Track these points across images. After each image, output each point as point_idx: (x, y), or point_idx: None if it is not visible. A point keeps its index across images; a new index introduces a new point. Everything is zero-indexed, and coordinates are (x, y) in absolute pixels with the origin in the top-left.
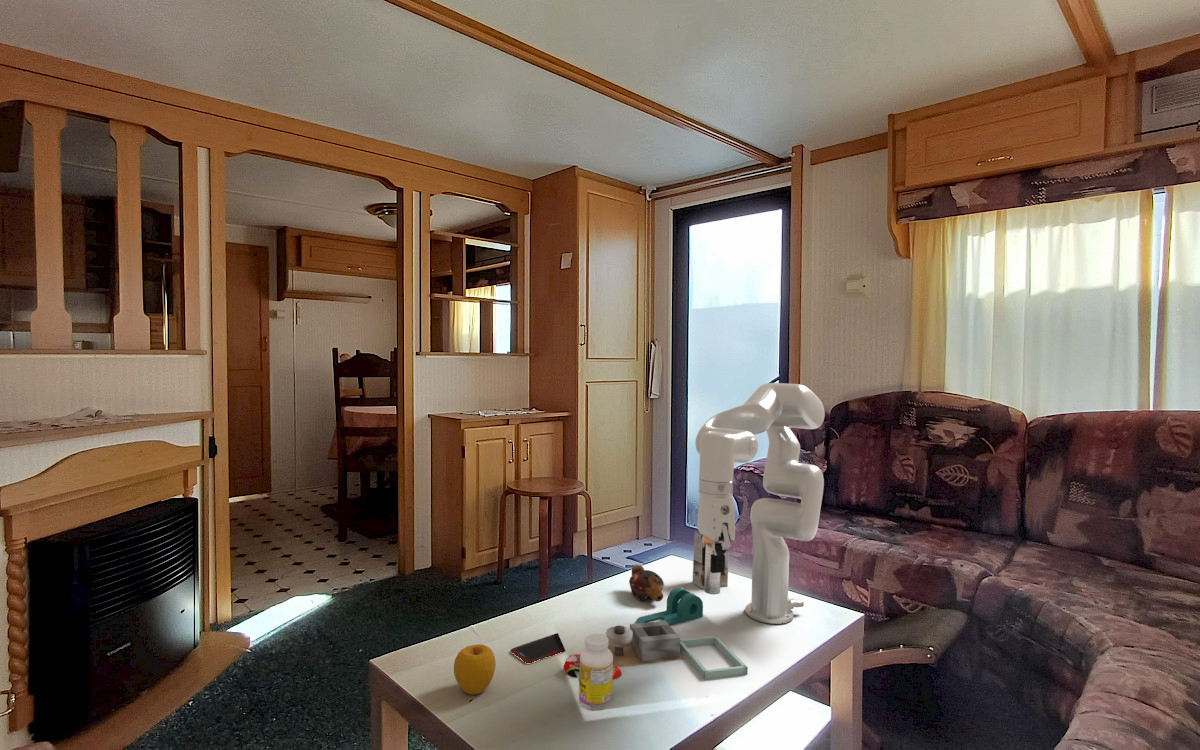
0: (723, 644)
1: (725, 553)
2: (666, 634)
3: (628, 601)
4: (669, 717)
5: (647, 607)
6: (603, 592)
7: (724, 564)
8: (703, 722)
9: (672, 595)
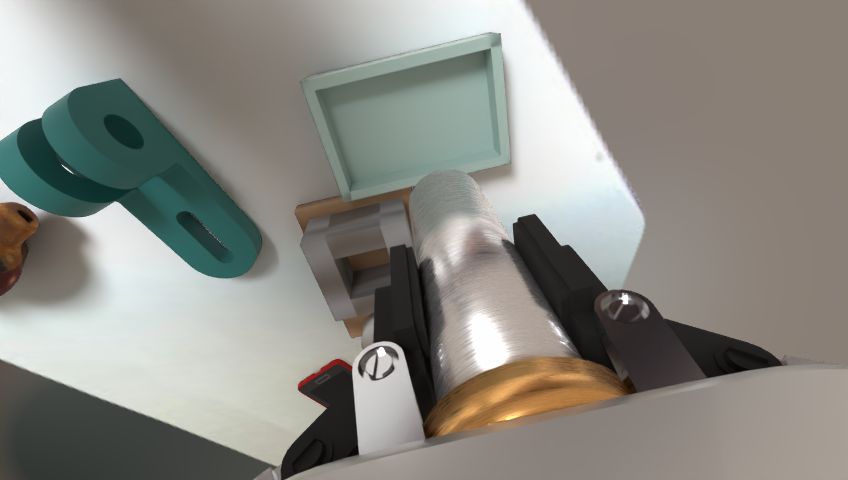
0: (360, 73)
1: (646, 304)
2: (388, 250)
3: (49, 278)
4: (585, 232)
5: (69, 233)
6: (15, 331)
7: (552, 237)
8: (616, 179)
9: (82, 207)
